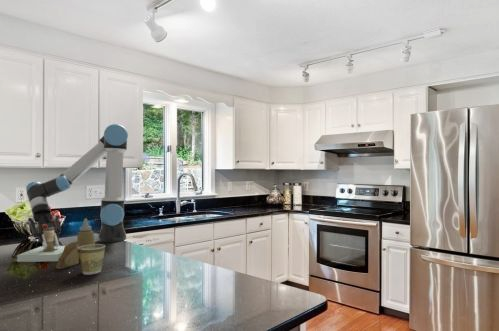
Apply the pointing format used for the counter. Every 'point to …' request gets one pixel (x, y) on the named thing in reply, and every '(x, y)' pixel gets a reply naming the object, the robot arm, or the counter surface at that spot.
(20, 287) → the counter surface
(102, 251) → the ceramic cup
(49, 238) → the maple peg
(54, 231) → the robot arm
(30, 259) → the socket board
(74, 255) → the rock
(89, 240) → the squeeze bottle
